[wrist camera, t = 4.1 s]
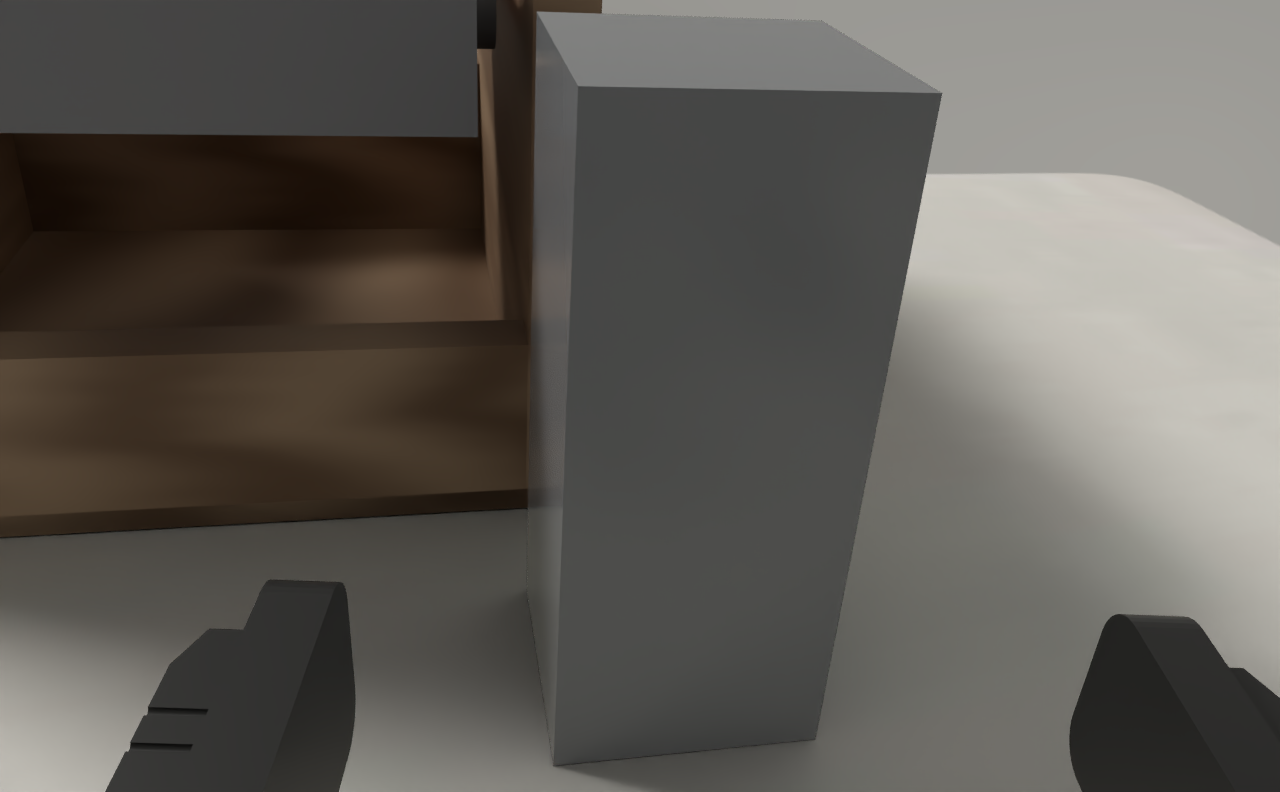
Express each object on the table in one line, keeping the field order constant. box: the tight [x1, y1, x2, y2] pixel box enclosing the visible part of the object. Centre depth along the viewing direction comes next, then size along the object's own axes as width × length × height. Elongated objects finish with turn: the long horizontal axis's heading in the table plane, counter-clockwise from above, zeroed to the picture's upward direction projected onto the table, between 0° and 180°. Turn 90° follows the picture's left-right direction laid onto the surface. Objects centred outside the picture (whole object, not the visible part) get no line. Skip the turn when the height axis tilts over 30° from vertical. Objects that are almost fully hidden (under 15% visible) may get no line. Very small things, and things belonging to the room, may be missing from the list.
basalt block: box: [527, 12, 942, 766], centre depth 18 cm, size 4×4×11 cm
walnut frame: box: [0, 0, 602, 537], centre depth 27 cm, size 16×17×11 cm
